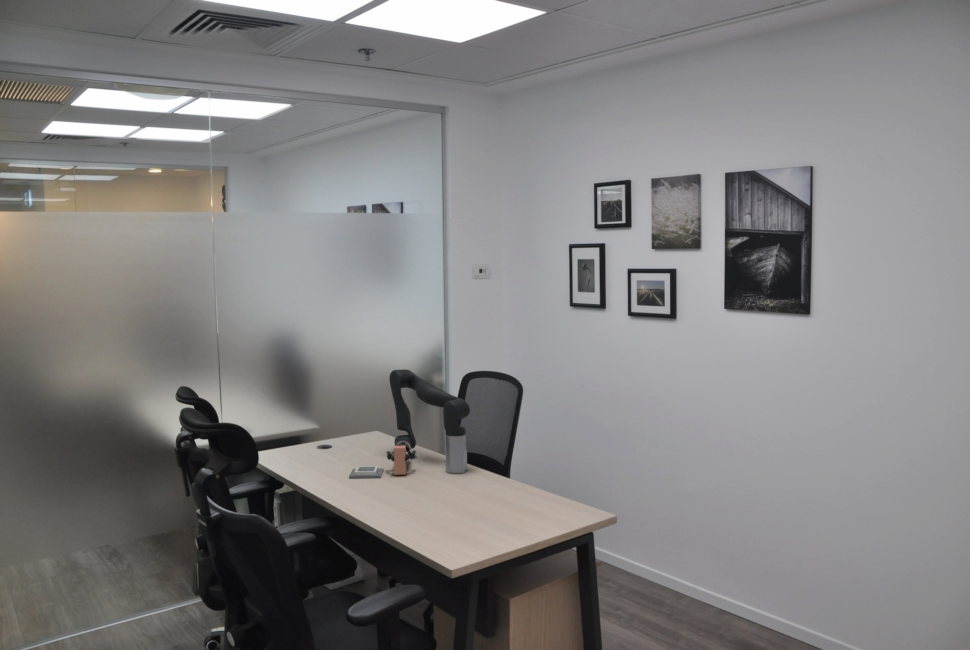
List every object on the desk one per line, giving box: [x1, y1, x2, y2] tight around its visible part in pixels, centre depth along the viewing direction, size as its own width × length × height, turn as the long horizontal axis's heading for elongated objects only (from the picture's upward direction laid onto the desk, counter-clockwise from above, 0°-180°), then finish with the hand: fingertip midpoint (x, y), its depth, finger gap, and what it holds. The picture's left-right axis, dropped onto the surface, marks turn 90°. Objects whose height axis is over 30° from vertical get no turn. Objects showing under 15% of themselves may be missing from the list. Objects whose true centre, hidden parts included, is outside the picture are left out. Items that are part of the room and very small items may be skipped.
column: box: [393, 445, 407, 476], centre depth 329 cm, size 5×5×12 cm
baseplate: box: [348, 465, 384, 480], centre depth 330 cm, size 14×12×3 cm
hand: (399, 459), depth 326 cm, fingers closed on column, 5 cm apart
